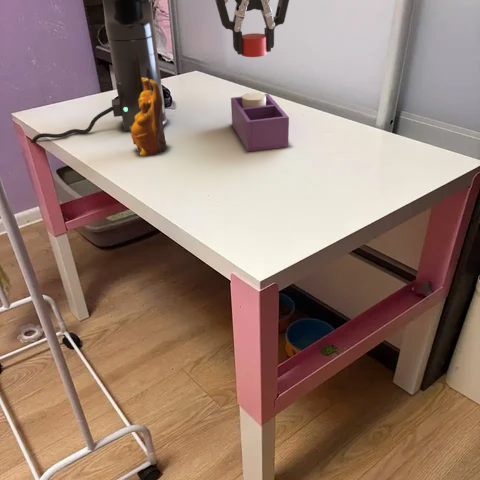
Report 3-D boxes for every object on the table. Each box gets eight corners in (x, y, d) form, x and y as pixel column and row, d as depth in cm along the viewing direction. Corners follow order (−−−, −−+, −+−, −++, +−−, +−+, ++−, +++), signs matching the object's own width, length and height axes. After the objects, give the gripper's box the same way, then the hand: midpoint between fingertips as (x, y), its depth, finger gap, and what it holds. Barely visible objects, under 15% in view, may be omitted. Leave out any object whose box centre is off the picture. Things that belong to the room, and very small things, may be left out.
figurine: (129, 151, 99) (116, 82, 91) (155, 141, 103) (146, 73, 95) (149, 160, 96) (138, 88, 88) (176, 149, 100) (168, 79, 91)
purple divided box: (248, 151, 97) (247, 122, 94) (232, 125, 109) (230, 97, 105) (288, 146, 98) (289, 117, 95) (268, 120, 110) (268, 93, 106)
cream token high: (245, 116, 102) (244, 101, 100) (240, 109, 105) (239, 94, 103) (268, 114, 102) (268, 98, 100) (262, 106, 106) (262, 91, 104)
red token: (244, 58, 93) (243, 40, 91) (238, 52, 97) (238, 34, 95) (269, 55, 94) (269, 37, 92) (263, 50, 98) (263, 32, 96)
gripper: (287, -65, 88) (285, 44, 99) (205, -60, 86) (212, 51, 97) (299, -63, 82) (296, 53, 93) (212, -57, 81) (219, 60, 92)
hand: (253, 51), depth 95 cm, fingers closed on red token, 4 cm apart
